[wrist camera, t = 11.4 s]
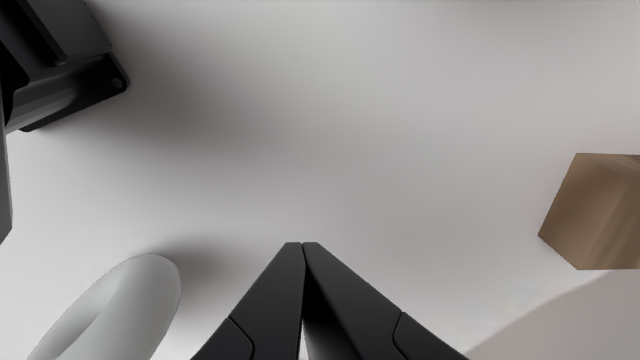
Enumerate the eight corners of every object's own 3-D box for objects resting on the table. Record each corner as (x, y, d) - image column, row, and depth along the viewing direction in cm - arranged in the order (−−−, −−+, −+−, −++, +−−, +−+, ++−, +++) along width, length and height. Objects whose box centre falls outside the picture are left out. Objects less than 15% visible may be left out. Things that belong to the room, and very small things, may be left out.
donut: (170, 216, 21) (93, 363, 12) (208, 248, 23) (163, 399, 14) (67, 291, 23) (-63, 464, 14) (109, 316, 25) (14, 487, 16)
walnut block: (577, 270, 22) (688, 267, 23) (630, 178, 19) (755, 181, 20) (536, 234, 26) (634, 234, 27) (575, 152, 23) (684, 156, 24)
